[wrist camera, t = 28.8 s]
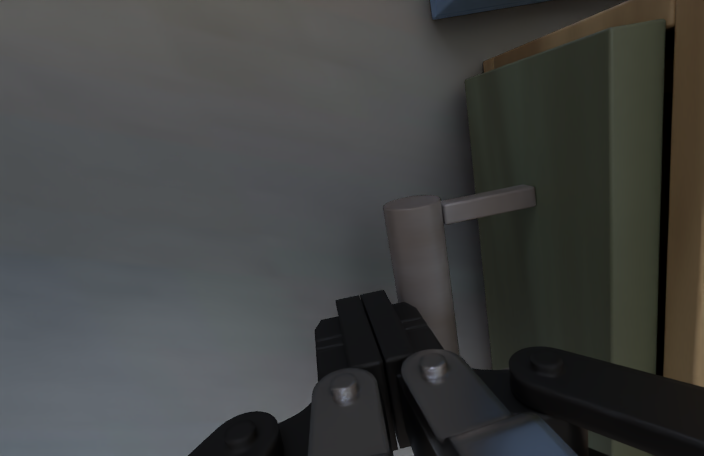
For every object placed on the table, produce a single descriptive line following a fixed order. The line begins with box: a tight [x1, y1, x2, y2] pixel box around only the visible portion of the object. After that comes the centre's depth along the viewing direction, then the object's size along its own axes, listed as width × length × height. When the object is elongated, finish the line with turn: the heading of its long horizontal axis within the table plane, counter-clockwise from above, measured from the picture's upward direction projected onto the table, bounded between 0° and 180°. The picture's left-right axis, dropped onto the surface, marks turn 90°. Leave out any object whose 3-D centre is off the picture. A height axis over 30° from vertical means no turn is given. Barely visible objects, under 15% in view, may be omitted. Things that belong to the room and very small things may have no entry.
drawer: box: [383, 19, 674, 456], centre depth 13 cm, size 19×13×7 cm
